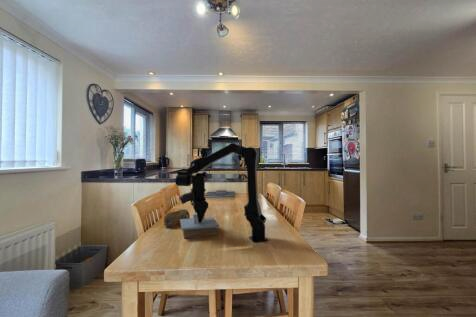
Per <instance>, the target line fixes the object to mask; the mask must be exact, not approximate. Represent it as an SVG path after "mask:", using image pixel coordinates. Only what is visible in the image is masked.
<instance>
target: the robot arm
mask: <svg viewBox="0 0 476 317" xmlns="http://www.w3.org/2000/svg"><path fill="white" fill-rule="evenodd" d="M233 153H234V154H237V155H238V156H242V157H243V161H244V165H245V167H246V174H247V176H246V177H247V179H246V180H247V199H248V201H247V203H246V204H245V205H244V206H243V207H244V208H243V209H244V214H243V215H244V216H245V219H246V221H248V222H249V225H250V227H251V236H248V237H249V239H250V240H252V242H253V243H258V242H259V243H260V242H268V241H269V239H268V238H267V237H266V224H265V223H266V221H267V217H265V215H263V214H262V208H261V205H260V202H259V196H258V194H259V193H258V191H259V190H258V173H257V172H258V171H257V170H258V169H257V168H258V164H259V158H260V157H259V156H260V152H259V150H258V149H257V148H256V147H251V146H249V147H246V146H244V145H239V144H237V143H236V142H235V143H234V142H231V143H229V144H228V145H226V146H224V147H222V148H220V149H218V150H216V151H214V152H212V153H211V154H209V155H207V156H201V157H198V158H195V159H192V160H191V161H190V165H189V167H188V169H187V170H186V171H177V175H176V177H175V181H174V182H175V185H176V186H177V187H190V186H191V185H192V186H191V189H190V191H189V192H187V193H184V194H182V195H180V196H179V200H180V202H181V204H182V205H184V204H186V203H188V202H190V205H191V206H192V209H193V210H194V213H197V217H198V222H199V223H201V222H202V219H203V217H204V215H205V214H206V212H207V210H208V208H209V202H208V201H207V200H206V194H205V193H206V190H207V189H206V186H205V185H206V184H205V183H206V182H205V181H206V178H207V177H210V174H209V173H208V172H207V171H205V170H206V169H208V168H209V167H210V166H212V164H214V163H216V162H219V161H220V160H221V159H224V158H226V157H228V156H229V155H232V154H233Z"/></svg>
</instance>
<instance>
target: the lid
mask: <svg viewBox="0 0 476 317" xmlns="http://www.w3.org/2000/svg"><path fill="white" fill-rule="evenodd" d="M180 227H181V230H190V229H203V228H215V227H217V228H220V225H219V223H218V222H217V220H216V219H215V217H214V216H209V217H207V216H206V217H205V215H204V217H203V219H202V222H201V223H199V222H198V217H197V213H195V212H193V213H192V218H189V219H180Z"/></svg>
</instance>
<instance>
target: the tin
mask: <svg viewBox="0 0 476 317" xmlns="http://www.w3.org/2000/svg"><path fill="white" fill-rule="evenodd" d="M180 219H191V218H190V212H189V210H187V209H185V208H184V209H178V210H174V211H169V212H167V213H166V214H165V215H164V217H163V223H164V224H163V225H164V226H165V228H168V229H169V228H174V227H177V226H181V224H180Z"/></svg>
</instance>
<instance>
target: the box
mask: <svg viewBox="0 0 476 317" xmlns="http://www.w3.org/2000/svg"><path fill="white" fill-rule="evenodd" d="M217 228H218V227H215V228H203V229H190V230H182V229H181V230H182V236H183V239H184V240H188V239H198V238H208V237H217V231H218V229H217Z"/></svg>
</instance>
